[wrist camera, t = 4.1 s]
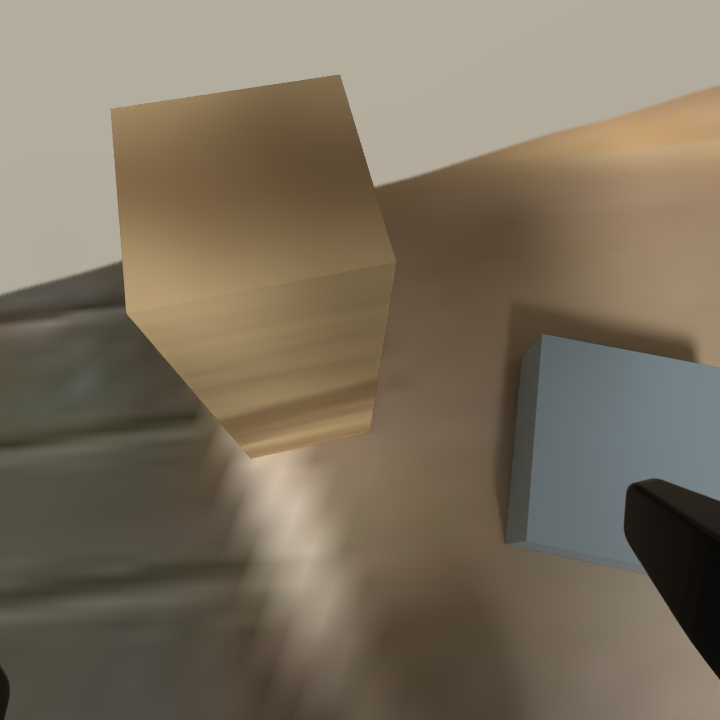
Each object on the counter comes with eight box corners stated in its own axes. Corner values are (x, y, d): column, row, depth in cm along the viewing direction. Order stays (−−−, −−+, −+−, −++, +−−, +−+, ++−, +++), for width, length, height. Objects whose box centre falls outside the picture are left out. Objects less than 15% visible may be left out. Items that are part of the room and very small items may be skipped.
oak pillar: (369, 432, 22) (397, 261, 10) (250, 458, 21) (126, 313, 9) (343, 326, 24) (339, 74, 12) (233, 348, 23) (110, 109, 11)
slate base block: (706, 588, 20) (763, 591, 18) (502, 544, 21) (526, 540, 18) (697, 396, 23) (745, 372, 20) (519, 361, 24) (542, 333, 21)
